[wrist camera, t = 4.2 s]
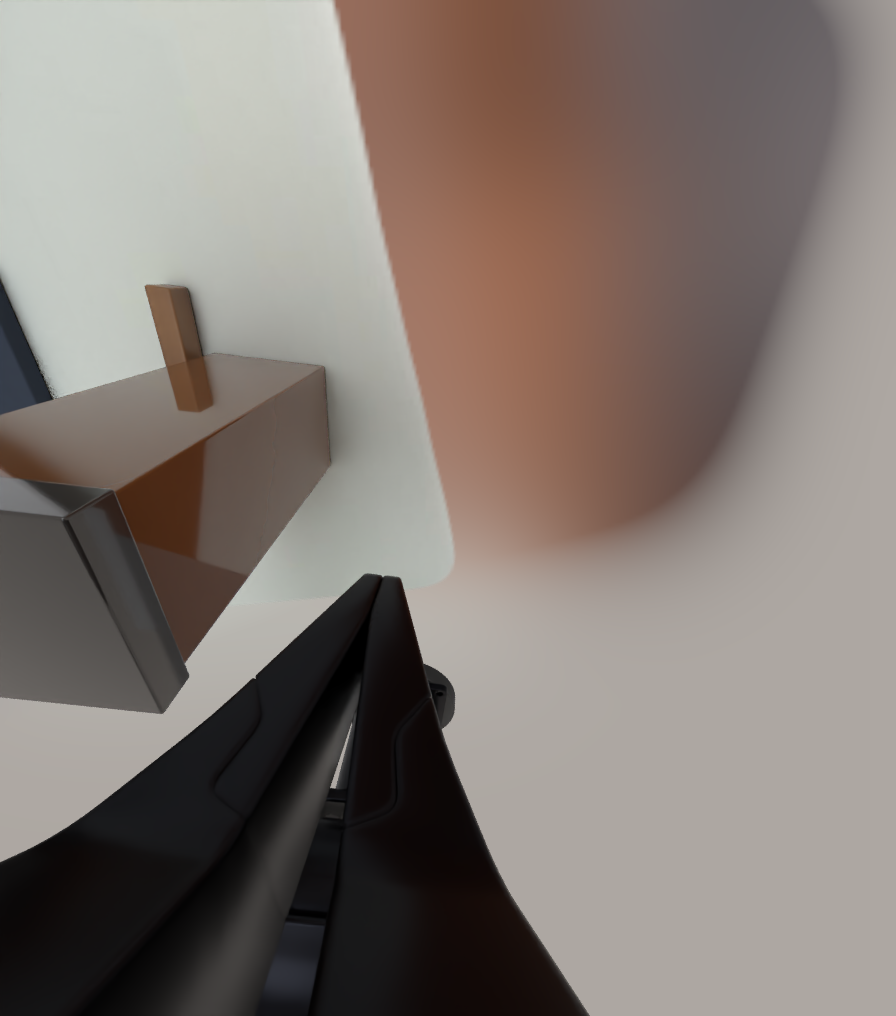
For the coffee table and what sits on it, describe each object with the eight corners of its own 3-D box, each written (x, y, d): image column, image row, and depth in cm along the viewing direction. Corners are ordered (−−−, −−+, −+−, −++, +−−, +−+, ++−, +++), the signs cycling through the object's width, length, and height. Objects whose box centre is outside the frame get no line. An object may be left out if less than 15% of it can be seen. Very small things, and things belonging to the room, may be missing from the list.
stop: (233, 495, 21) (221, 506, 20) (215, 493, 21) (202, 504, 20) (188, 287, 16) (169, 287, 15) (164, 284, 16) (142, 284, 15)
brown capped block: (334, 470, 20) (163, 715, 9) (231, 458, 20) (-77, 690, 9) (328, 361, 17) (63, 519, 6) (208, 347, 17) (-295, 478, 6)
